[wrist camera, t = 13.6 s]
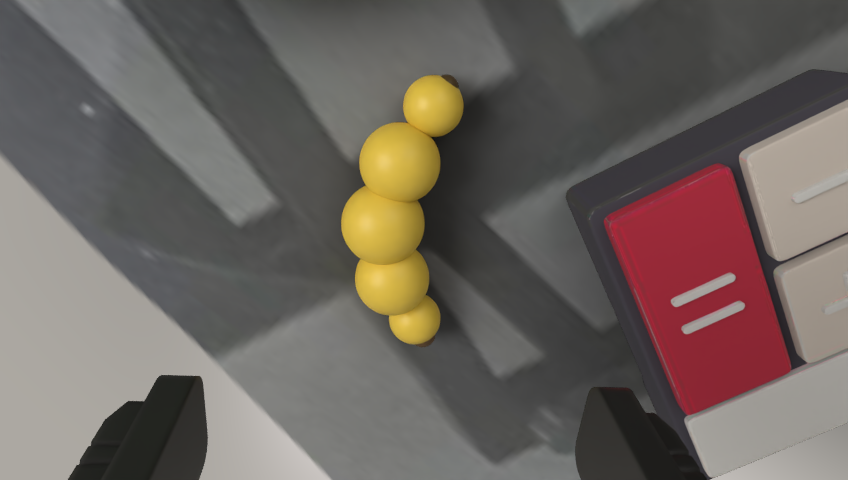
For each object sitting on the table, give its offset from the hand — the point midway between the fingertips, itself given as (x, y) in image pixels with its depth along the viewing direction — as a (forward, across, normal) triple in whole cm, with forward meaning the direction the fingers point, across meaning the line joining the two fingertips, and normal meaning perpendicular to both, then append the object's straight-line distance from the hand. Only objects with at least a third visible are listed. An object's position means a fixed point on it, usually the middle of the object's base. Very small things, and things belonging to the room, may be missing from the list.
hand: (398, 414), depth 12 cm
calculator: (+13, -16, +3) cm, 21 cm away
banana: (+13, 0, 0) cm, 13 cm away
